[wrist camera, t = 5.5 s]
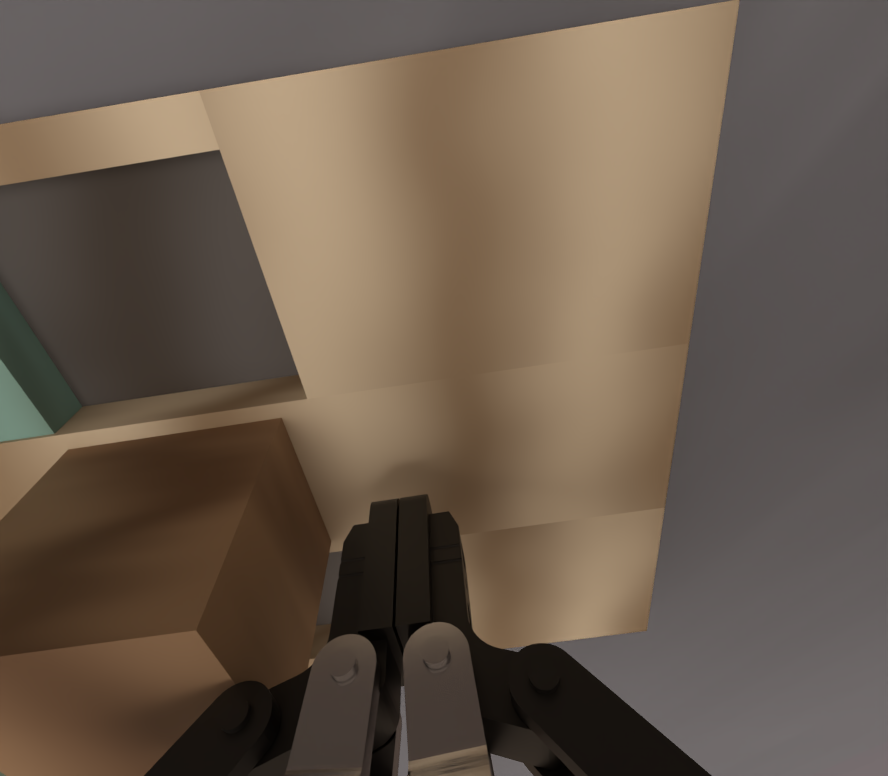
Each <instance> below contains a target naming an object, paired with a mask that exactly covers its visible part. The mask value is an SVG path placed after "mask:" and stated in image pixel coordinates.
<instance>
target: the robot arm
mask: <svg viewBox="0 0 888 776" xmlns="http://www.w3.org/2000/svg"><path fill="white" fill-rule="evenodd" d="M338 576H339V579H338V581H337V588H336V594H335V601H334V608H333V614H332V621H331V627H330V634H329V638H328V641H327V644H326V645H325V646H324V647H323V648H322V649H321V650H320V651H319V653H318V654H317V656H316V658H315V660H314V662H313V664H312V665H311V666H310V667H309V668H308V669H306V670H305V671H304V672H302V673H300V674H299V675H297V676H295V677H293V678H291V679H289V680H287V681H285V682H282V683H280V684H278V685H276V686H274V687H272V688H270V689H268V688H267V687H266V686H265V685H264V684H262V683H260V682H257V681H244V682H240V683H238V684H235V685H233V686H231V687H230V688H228V689H227V690H225V691H224V692H223V693H222V694H221V695H220V696H219V697H217V698H216V700H215V701H214V702H213V703H212V704H211V705H210V706H209V707H208V708H207V709H206V710H205V711H204V712H203V713H202V714H201V715H200V717H199V718H198V719H197V720H196V721H195V722H194V723H193V724H192V725H191V726H190V727H189V728H188V729H187V730H186V731H185V732H184V734H183V735H182V736H181V737H180V738H179V739H178V740H177V741H176V742H175V743H174V744H173V745H172V746H171V747H170V748H169V749H168V751H167V752H166V753H165V754H164V755H163V756H162V757H161V758H160V759H159V760H158V761H157V762H156V763H155V764H154V765H153V766H152V768H151V769H150V770H149V771H148V772H147V773H146V774H145V775H144V776H398V767H399V755H400V743H401V731H402V718H401V714H400V696H401V686H404V689H405V706H406V724H407V742H408V761H409V769H408V775H407V776H494V771H493V765H492V760H491V754H495V755H498V756H502V757H505V758H509V759H512V760H516V761H519V762H523V763H524V764H525V766H526V767H527V768H528V770H529V771H530V772H531V773H532V774H533V775H534V776H711V775H710V774H709V773H708V772H707V771H705V770H704V769H703V768H702V767H701V766H700V765H698V764H697V763H696V762H695V761H694V760H693V759H691V758H690V757H689V756H688V755H687V754H685V753H684V752H683V751H682V750H681V749H680V748H678V747H677V746H676V745H675V744H674V743H672V742H671V741H670V740H669V739H668V738H667V737H665V736H664V735H663V734H662V733H661V732H660V731H658V730H657V729H656V728H655V727H654V726H652V725H651V724H650V723H649V722H648V721H647V720H645V719H644V718H643V717H642V716H641V715H640V714H638V713H637V712H636V711H635V710H634V709H632V708H631V707H630V706H629V705H628V704H627V703H625V702H624V701H623V700H622V699H621V698H619V697H618V696H617V695H616V694H615V693H614V692H612V691H611V690H610V689H609V688H608V687H607V686H605V685H604V684H603V683H602V682H601V681H599V680H598V679H597V678H596V677H595V676H594V675H592V674H591V673H590V672H589V671H588V670H586V669H585V668H584V667H583V666H582V665H581V664H579V663H578V662H577V661H576V660H575V659H574V658H572V657H571V656H570V655H569V654H568V653H566V652H565V651H564V650H562V649H561V648H559V647H557V646H554V645H551V644H546V643H536V644H531V645H529V646H526V647H525V648H523V649H521V650H520V651H519V652H514V651H510V650H505V649H500V648H497V647H493V646H491V645H489V644H487V643H485V642H484V641H482V640H481V639H480V638H479V637H478V636H477V635H476V634H475V632H474V631H473V627H472V618H471V609H470V599H469V590H468V582H467V572H466V563H465V557H464V552H463V547H462V541H461V536H460V531H459V526H458V524H457V523H456V521H455V520H454V518H453V517H452V515H451V514H450V512H449V511H447V512H440V513H433V514H432V510H431V505H430V501H429V497H428V494H423V495H416V496H409V497H402V498H400V499H399V498H396V499H390V500H383V501H376V502H372V503H371V505H370V513H369V523H365V524H358V525H354V526H353V527H352V529H351V530H350V532H349V534H348V535H347V537H346V539H345V540H344V542H343V549H342V555H341V564H340V568H339V575H338ZM490 753H491V754H490Z"/></svg>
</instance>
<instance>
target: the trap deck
mask: <svg viewBox="0 0 888 776" xmlns="http://www.w3.org/2000/svg"><path fill="white" fill-rule="evenodd" d="M739 1H740V0H733V1H727V2H721V3H715V4H709V5H703V6H698V7H692V8H686V9H680V10H674V11H668V12H662V13H656V14H650V15H644V16H638V17H632V18H627V19H621V20H615V21H609V22H603V23H597V24H591V25H585V26H579V27H573V28H567V29H562V30H556V31H550V32H544V33H538V34H532V35H526V36H520V37H514V38H508V39H502V40H496V41H491V42H485V43H479V44H473V45H467V46H461V47H455V48H449V49H443V50H437V51H431V52H425V53H420V54H414V55H408V56H402V57H396V58H390V59H384V60H378V61H372V62H366V63H360V64H354V65H349V66H343V67H337V68H331V69H325V70H319V71H313V72H307V73H301V74H295V75H289V76H284V77H278V78H272V79H266V80H260V81H254V82H248V83H242V84H236V85H230V86H224V87H218V88H213V89H207V90H201V91H195V92H189V93H183V94H177V95H171V96H165V97H159V98H153V99H147V100H142V101H136V102H130V103H124V104H118V105H112V106H106V107H100V108H94V109H88V110H82V111H76V112H71V113H65V114H59V115H53V116H47V117H41V118H35V119H29V120H23V121H17V122H11V123H6V124H0V521H1V520H2V518H3V517H4V516H5V515H6V514H7V513H8V512H9V511H10V510H11V509H12V508H13V507H14V506H15V505H16V504H17V503H18V502H19V501H20V500H21V498H22V497H23V496H24V495H25V494H26V493H27V492H28V491H29V490H30V489H31V488H32V487H33V486H34V485H35V484H36V483H37V482H38V481H39V480H40V478H41V477H42V476H43V475H44V474H45V473H46V472H47V471H48V470H49V469H50V468H51V467H52V466H53V465H54V464H55V463H56V462H57V461H58V460H59V458H60V457H61V456H62V455H63V454H64V453H65V452H66V451H67V450H68V449H75V448H82V447H88V446H95V445H102V444H108V443H115V442H122V441H129V440H135V439H142V438H149V437H155V436H162V435H169V434H176V433H182V432H189V431H196V430H202V429H209V428H216V427H223V426H229V425H236V424H243V423H249V422H256V421H263V420H270V419H276V418H282V420H283V422H284V425H285V427H286V430H287V432H288V435H289V437H290V440H291V442H292V445H293V447H294V450H295V452H296V455H297V457H298V459H299V462H300V464H301V467H302V469H303V472H304V474H305V477H306V479H307V482H308V484H309V487H310V489H311V492H312V494H313V497H314V499H315V502H316V504H317V507H318V509H319V511H320V514H321V516H322V519H323V521H324V524H325V526H326V529H327V531H328V534H329V536H330V539H331V546H330V552H329V557H328V563H327V568H326V573H325V579H324V584H323V589H322V595H321V600H320V606H319V611H318V616H317V622H316V627H315V633H314V638H313V643H312V649H311V654H310V659H309V665H308V668H309V667H310V666H311V665H312V664H313V662H314V660H315V658H316V656H317V654H318V653H319V651H320V650H321V649H322V648H323V647H324V646H325V645H326V644H327V641H328V638H329V634H330V627H331V621H332V614H333V608H334V601H335V594H336V588H337V581H338V579H339V576H338V575H339V568H340V564H341V555H342V549H343V542H344V540H345V539H346V537H347V535H348V534H349V532H350V530H351V529H352V527H353V526H354V525H358V524H365V523H369V513H370V505H371V503H372V502H376V501H383V500H390V499H396V498H399V499H400V498H402V497H409V496H416V495H423V494H428V497H429V501H430V505H431V510H432V514H433V513H440V512H447V511H449V512H450V514H451V515H452V517H453V518H454V520H455V521H456V523H457V524H458V526H459V531H460V536H461V541H462V547H463V552H464V557H465V563H466V572H467V582H468V590H469V599H470V609H471V618H472V627H473V631H474V632H475V634H476V635H477V636H478V637H479V638H480V639H481V640H482V641H484V642H485V643H487V644H489V645H491V646H493V647H497V648H500V649H505V648H513V647H521V646H529V645H531V644H536V643H552V642H560V641H568V640H576V639H584V638H592V637H600V636H608V635H616V634H624V633H632V632H640V631H647V625H648V618H649V611H650V605H651V598H652V591H653V584H654V577H655V571H656V564H657V557H658V550H659V543H660V537H661V530H662V523H663V516H664V510H665V503H666V496H667V489H668V482H669V476H670V469H671V462H672V455H673V448H674V442H675V435H676V428H677V421H678V415H679V408H680V401H681V394H682V387H683V381H684V374H685V367H686V360H687V354H688V347H689V340H690V333H691V326H692V320H693V313H694V306H695V299H696V292H697V286H698V279H699V272H700V265H701V259H702V252H703V245H704V238H705V231H706V225H707V218H708V211H709V204H710V197H711V191H712V184H713V177H714V170H715V164H716V157H717V150H718V143H719V136H720V130H721V123H722V116H723V109H724V102H725V96H726V89H727V82H728V75H729V69H730V62H731V55H732V48H733V41H734V35H735V28H736V21H737V14H738V8H739ZM0 776H6V775H4V774H3V773H1V772H0Z"/></svg>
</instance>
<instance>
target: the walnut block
mask: <svg viewBox="0 0 888 776" xmlns="http://www.w3.org/2000/svg"><path fill="white" fill-rule="evenodd" d="M330 546H331V539H330V536H329V534H328V531H327V529H326V526H325V524H324V521H323V519H322V516H321V514H320V511H319V509H318V507H317V504H316V502H315V499H314V497H313V494H312V492H311V489H310V487H309V484H308V482H307V479H306V477H305V474H304V472H303V469H302V467H301V464H300V462H299V459H298V457H297V455H296V452H295V450H294V447H293V445H292V442H291V440H290V437H289V435H288V432H287V430H286V427H285V425H284V422H283V420H282V418H276V419H270V420H263V421H256V422H249V423H243V424H236V425H229V426H223V427H216V428H209V429H202V430H196V431H189V432H182V433H176V434H169V435H162V436H155V437H149V438H142V439H135V440H129V441H122V442H115V443H108V444H102V445H95V446H88V447H82V448H75V449H68V450H67V451H66V452H65V453H64V454H63V455H62V456H61V457H60V458H59V460H58V461H57V462H56V463H55V464H54V465H53V466H52V467H51V468H50V469H49V470H48V471H47V472H46V473H45V474H44V475H43V476H42V477H41V478H40V480H39V481H38V482H37V483H36V484H35V485H34V486H33V487H32V488H31V489H30V490H29V491H28V492H27V493H26V494H25V495H24V496H23V497H22V498H21V500H20V501H19V502H18V503H17V504H16V505H15V506H14V507H13V508H12V509H11V510H10V511H9V512H8V513H7V514H6V515H5V516H4V517H3V518H2V520H1V521H0V772H1V773H3V774H4V775H6V776H144V775H145V774H146V773H147V772H148V771H149V770H150V769H151V768H152V766H153V765H154V764H155V763H156V762H157V761H158V760H159V759H160V758H161V757H162V756H163V755H164V754H165V753H166V752H167V751H168V749H169V748H170V747H171V746H172V745H173V744H174V743H175V742H176V741H177V740H178V739H179V738H180V737H181V736H182V735H183V734H184V732H185V731H186V730H187V729H188V728H189V727H190V726H191V725H192V724H193V723H194V722H195V721H196V720H197V719H198V718H199V717H200V715H201V714H202V713H203V712H204V711H205V710H206V709H207V708H208V707H209V706H210V705H211V704H212V703H213V702H214V701H215V700H216V698H217V697H219V696H220V695H221V694H222V693H223V692H224V691H225V690H227V689H228V688H230V687H231V686H233V685H235V684H238V683H240V682H244V681H257V682H260V683H262V684H264V685H265V686H266V687H267V688H268V689H270V688H272V687H274V686H276V685H278V684H280V683H282V682H285V681H287V680H289V679H291V678H293V677H295V676H297V675H299V674H300V673H302V672H304V671H305V670H306V669H308V665H309V659H310V654H311V649H312V643H313V638H314V633H315V627H316V622H317V616H318V611H319V606H320V600H321V595H322V589H323V584H324V579H325V573H326V568H327V563H328V557H329V552H330Z"/></svg>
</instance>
